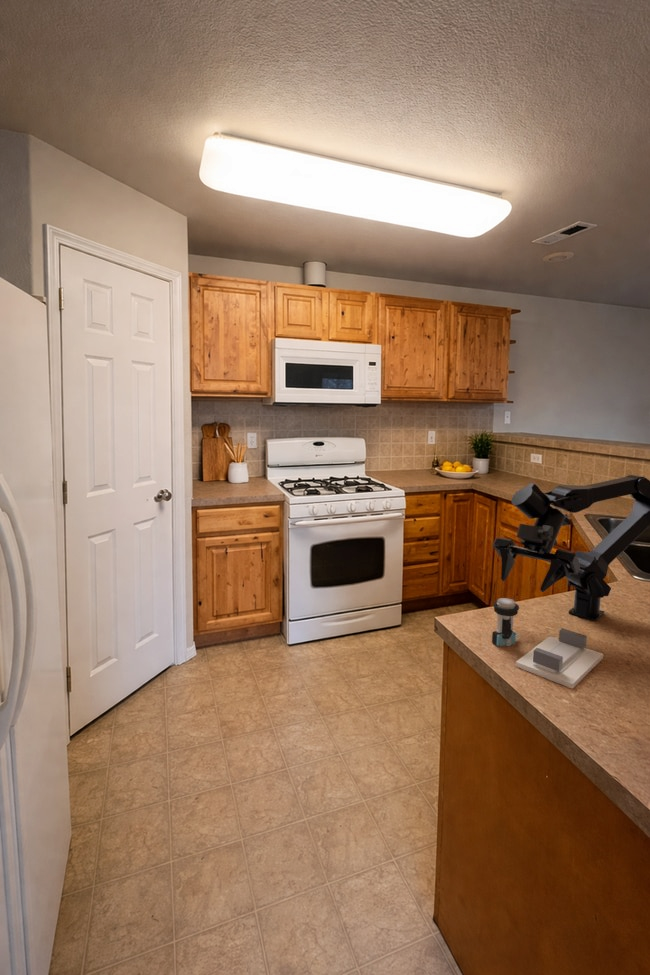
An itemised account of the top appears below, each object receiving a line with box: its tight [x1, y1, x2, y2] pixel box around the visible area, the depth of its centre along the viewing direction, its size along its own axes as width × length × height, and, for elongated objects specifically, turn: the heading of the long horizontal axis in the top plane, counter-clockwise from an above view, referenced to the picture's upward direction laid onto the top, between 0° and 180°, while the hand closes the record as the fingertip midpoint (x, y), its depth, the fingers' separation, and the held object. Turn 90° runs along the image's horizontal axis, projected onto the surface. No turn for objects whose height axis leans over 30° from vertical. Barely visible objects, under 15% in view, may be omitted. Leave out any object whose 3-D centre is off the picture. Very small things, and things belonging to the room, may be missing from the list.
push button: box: [491, 597, 521, 648], centre depth 106 cm, size 7×5×10 cm
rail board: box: [515, 628, 604, 690], centre depth 98 cm, size 16×11×4 cm
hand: (521, 585), depth 109 cm, fingers open, 9 cm apart
